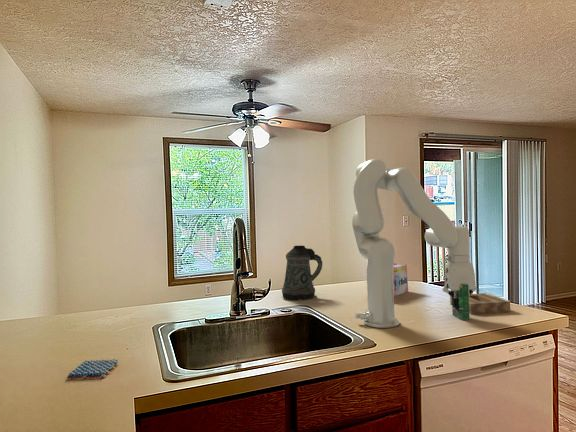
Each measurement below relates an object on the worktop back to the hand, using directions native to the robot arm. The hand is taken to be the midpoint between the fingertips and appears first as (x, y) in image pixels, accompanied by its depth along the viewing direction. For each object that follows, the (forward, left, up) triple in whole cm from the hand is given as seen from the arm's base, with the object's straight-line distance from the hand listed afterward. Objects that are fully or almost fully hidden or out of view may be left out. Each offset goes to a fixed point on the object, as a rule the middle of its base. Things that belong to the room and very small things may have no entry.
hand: (460, 307), depth 148 cm
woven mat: (-122, -28, -4) cm, 125 cm away
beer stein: (-54, +51, -4) cm, 74 cm away
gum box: (-12, +44, -4) cm, 46 cm away
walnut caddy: (+14, +11, -4) cm, 18 cm away
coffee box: (0, 0, -4) cm, 4 cm away
